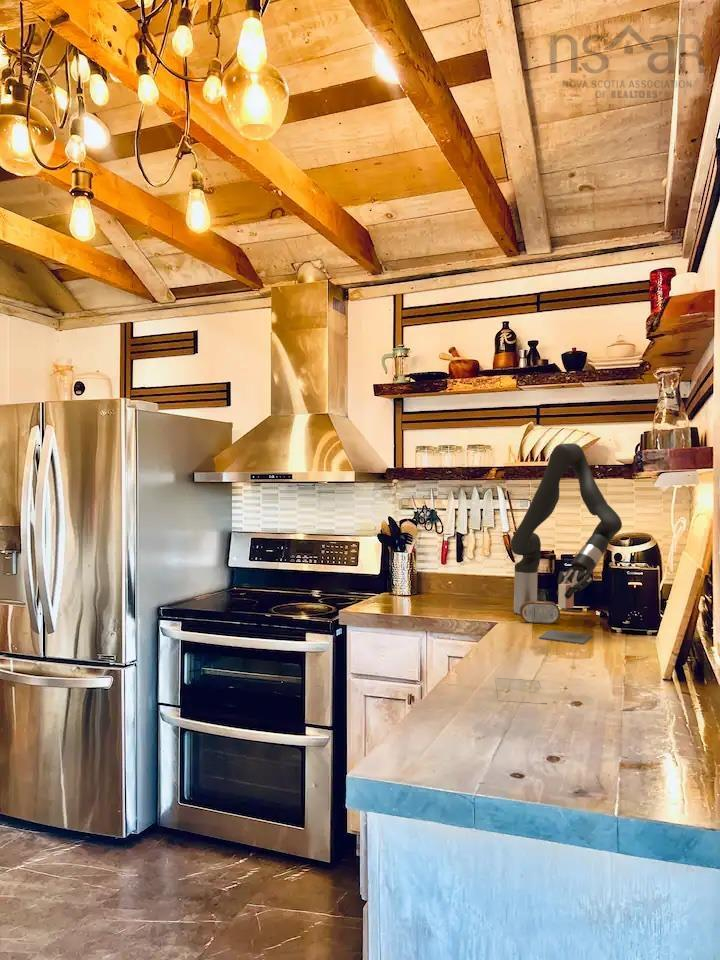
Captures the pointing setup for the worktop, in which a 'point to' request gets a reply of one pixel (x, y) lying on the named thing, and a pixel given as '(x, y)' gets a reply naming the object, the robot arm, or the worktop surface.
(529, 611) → the tin
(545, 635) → the mat
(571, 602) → the block
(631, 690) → the worktop surface
